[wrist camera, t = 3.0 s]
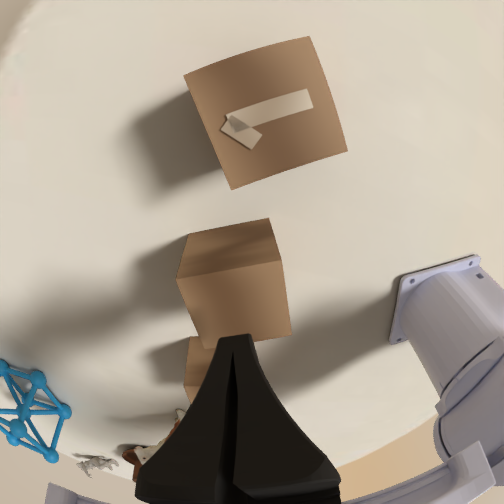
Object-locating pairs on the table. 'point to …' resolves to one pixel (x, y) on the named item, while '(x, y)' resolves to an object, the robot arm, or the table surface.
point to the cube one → (267, 110)
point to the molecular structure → (31, 413)
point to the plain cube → (234, 283)
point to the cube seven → (196, 366)
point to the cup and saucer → (132, 461)
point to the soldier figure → (96, 464)
